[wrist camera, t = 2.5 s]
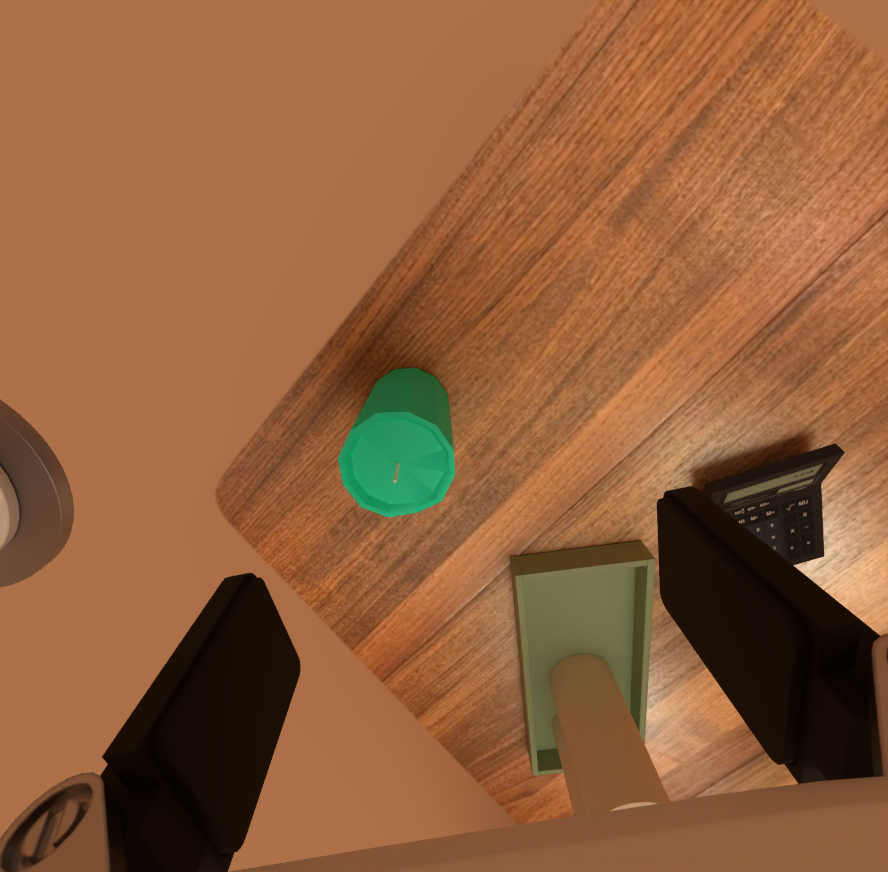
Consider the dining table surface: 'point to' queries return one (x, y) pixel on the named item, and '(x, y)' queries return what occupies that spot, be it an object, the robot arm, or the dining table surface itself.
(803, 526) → the calculator
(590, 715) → the cream candle
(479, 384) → the dining table surface
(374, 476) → the candle
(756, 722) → the robot arm
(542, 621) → the tray
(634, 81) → the dining table surface
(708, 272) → the dining table surface
